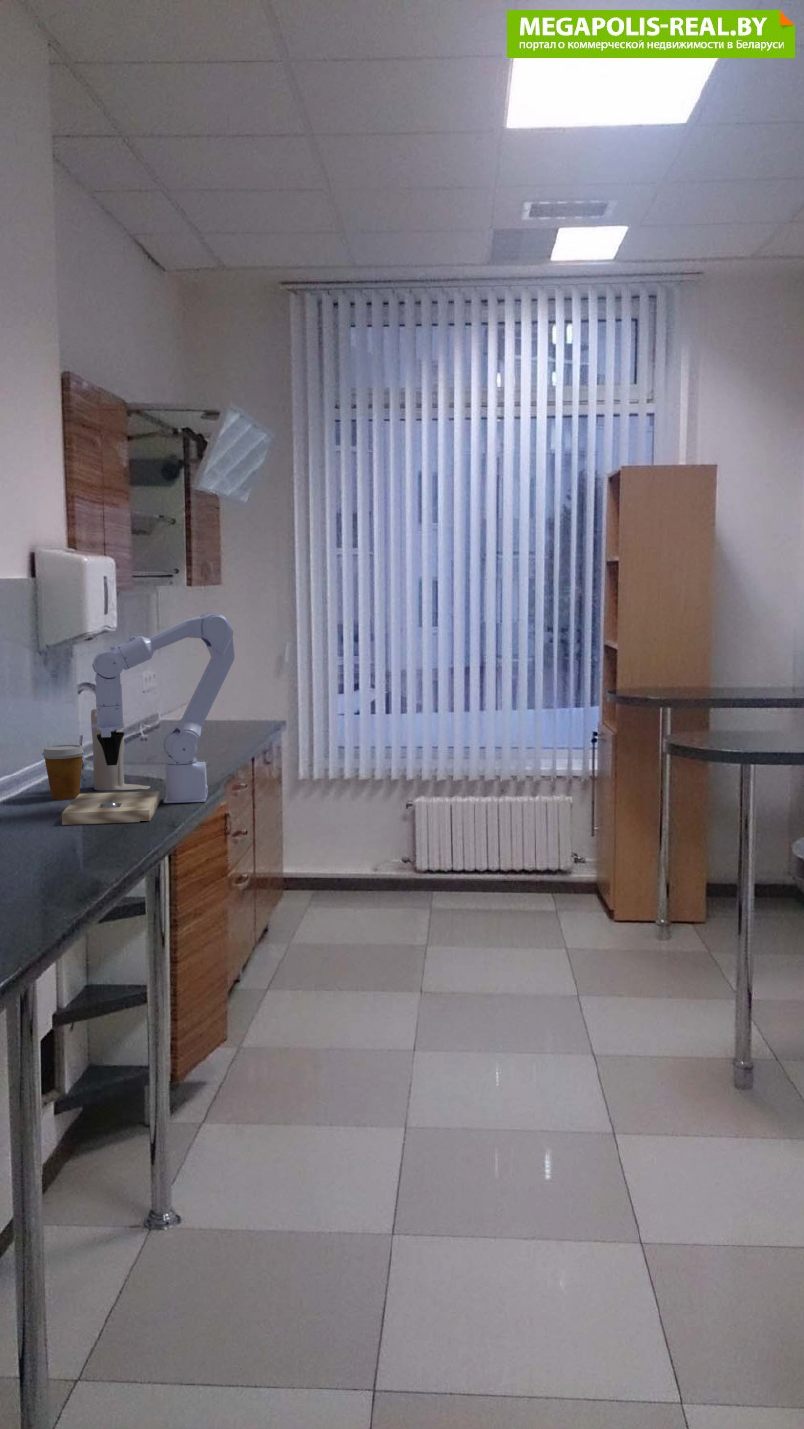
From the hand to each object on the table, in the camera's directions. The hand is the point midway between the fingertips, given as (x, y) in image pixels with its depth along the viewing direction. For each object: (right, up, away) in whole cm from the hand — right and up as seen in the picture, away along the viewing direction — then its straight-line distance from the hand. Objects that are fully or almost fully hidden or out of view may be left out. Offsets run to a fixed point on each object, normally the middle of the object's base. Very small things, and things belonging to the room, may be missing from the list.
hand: (112, 764), depth 257 cm
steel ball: (+3, -9, -11) cm, 15 cm away
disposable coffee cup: (-14, -8, +13) cm, 21 cm away
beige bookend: (-3, -7, +24) cm, 25 cm away
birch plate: (+2, -10, -7) cm, 12 cm away
